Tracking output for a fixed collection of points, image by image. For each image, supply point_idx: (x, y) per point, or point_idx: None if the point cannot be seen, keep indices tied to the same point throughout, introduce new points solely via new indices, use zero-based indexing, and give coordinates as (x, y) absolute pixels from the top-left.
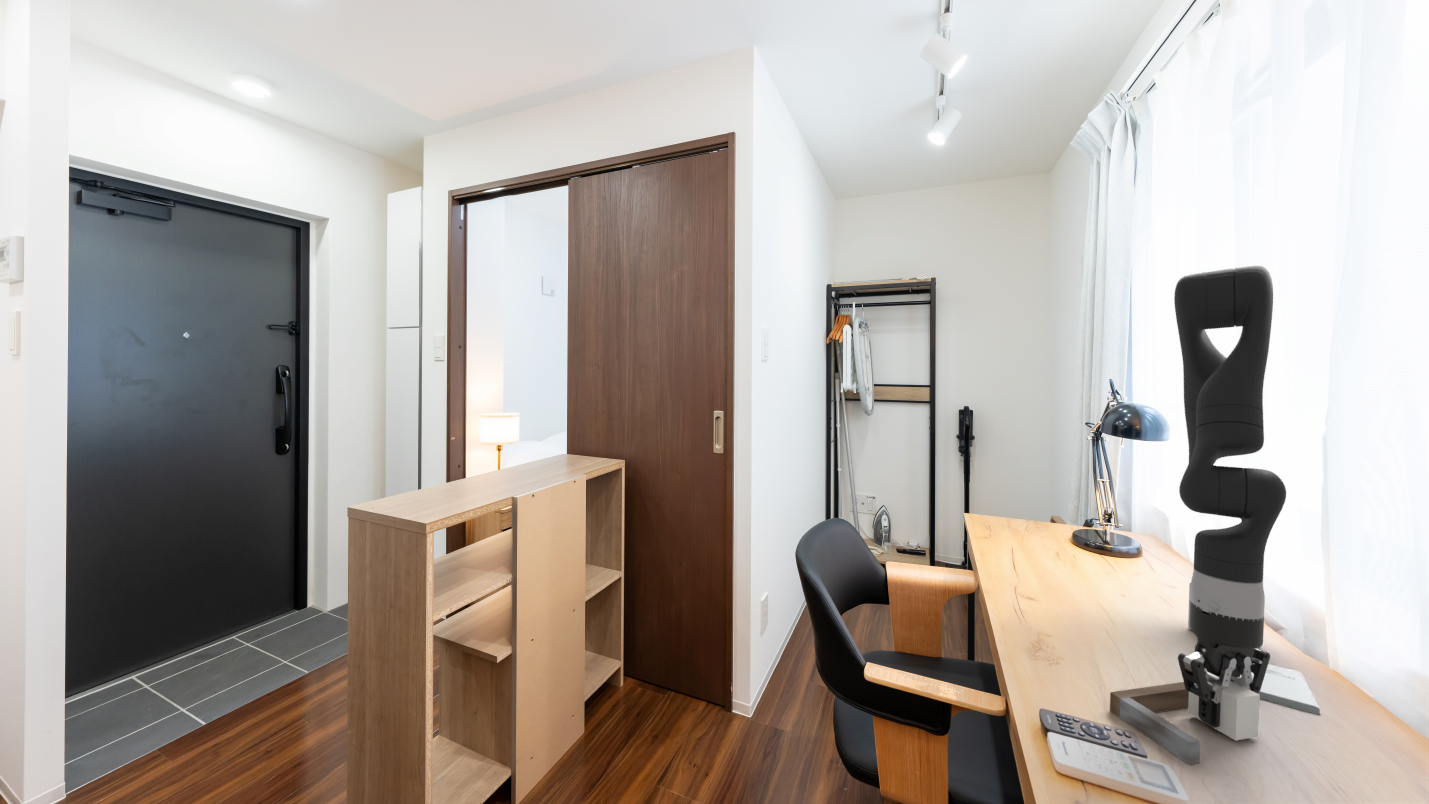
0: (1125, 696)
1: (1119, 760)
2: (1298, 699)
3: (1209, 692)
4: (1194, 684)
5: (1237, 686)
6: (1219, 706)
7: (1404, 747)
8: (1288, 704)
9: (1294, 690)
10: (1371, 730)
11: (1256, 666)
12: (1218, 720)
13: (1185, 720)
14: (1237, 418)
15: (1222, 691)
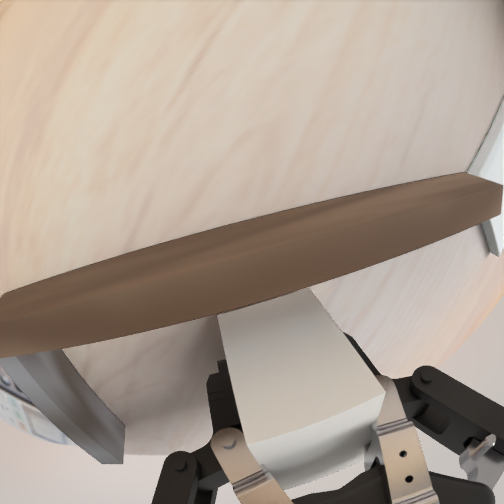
0: (6, 352)
1: (11, 408)
2: (501, 234)
3: (214, 493)
4: (197, 480)
5: (353, 449)
6: None
7: (482, 316)
8: (485, 228)
9: None
10: (494, 284)
11: (458, 447)
12: None
13: (194, 321)
14: None
15: None
